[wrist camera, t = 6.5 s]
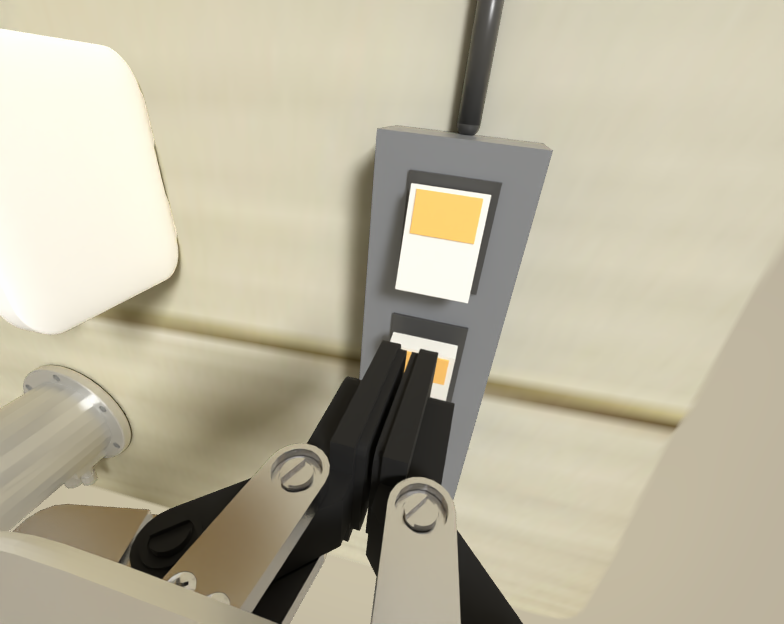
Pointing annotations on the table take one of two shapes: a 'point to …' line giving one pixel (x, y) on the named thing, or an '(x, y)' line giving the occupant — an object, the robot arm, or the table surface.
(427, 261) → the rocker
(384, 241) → the power strip
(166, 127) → the table surface
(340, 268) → the table surface
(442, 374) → the middle rocker
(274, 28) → the table surface
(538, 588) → the table surface
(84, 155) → the cable organizer
